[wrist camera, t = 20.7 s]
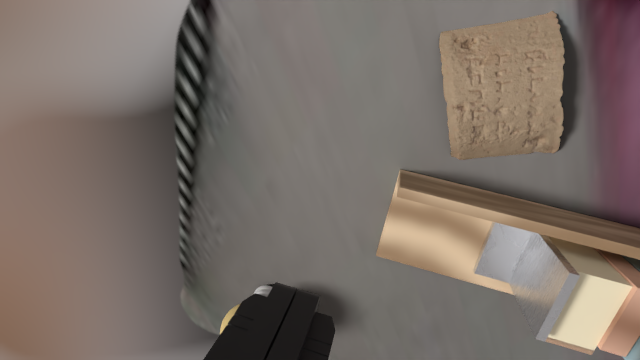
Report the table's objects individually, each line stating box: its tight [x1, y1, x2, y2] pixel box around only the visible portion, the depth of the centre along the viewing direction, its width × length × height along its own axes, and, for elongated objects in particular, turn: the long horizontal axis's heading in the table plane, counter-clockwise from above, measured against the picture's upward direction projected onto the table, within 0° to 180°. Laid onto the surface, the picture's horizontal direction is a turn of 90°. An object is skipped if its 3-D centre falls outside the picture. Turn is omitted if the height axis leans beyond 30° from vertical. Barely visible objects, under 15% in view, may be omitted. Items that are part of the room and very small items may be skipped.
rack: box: [376, 169, 640, 360], centre depth 34 cm, size 10×25×10 cm, turn 79°
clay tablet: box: [439, 11, 565, 160], centre depth 34 cm, size 14×10×3 cm
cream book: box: [546, 236, 633, 355], centre depth 34 cm, size 7×4×8 cm, turn 169°
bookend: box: [473, 222, 580, 342], centre depth 34 cm, size 7×4×9 cm, turn 169°
